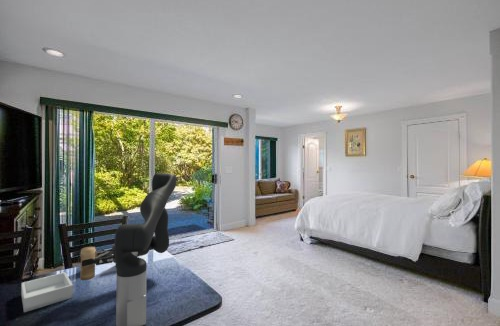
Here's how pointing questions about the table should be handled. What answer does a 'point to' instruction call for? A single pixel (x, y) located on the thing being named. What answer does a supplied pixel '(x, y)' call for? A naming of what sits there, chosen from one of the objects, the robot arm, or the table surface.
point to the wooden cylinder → (88, 270)
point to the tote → (46, 291)
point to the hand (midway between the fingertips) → (80, 261)
